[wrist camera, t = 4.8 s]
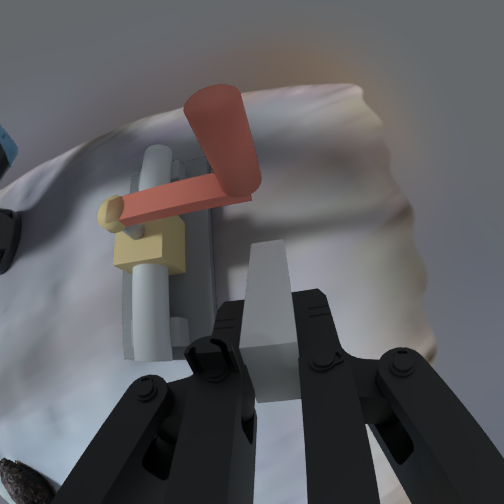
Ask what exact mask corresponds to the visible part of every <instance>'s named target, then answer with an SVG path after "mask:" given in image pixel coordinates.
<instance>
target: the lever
mask: <svg viewBox="0 0 504 504" xmlns="http://www.w3.org/2000/svg"><path fill="white" fill-rule="evenodd" d="M184 114H185V116H186V118H187V120H188V122H189V124H190V126H191V128H192V130H193V132H194V134H195V136H196V138H197V140H198V142H199V144H200V146H201V148H202V150H203V152H204V154H205V156H206V158H207V160H208V162H209V164H210V166H211V168H212V170H213V172H214V173H210V174H206V175H201V176H197V177H193V178H188V179H184V180H180V181H176V182H172V183H168V184H164V185H160V186H157V187H153V188H149V189H146V190H142V191H139V192H135V193H132V194H128V195H125V196H122V197H121V196H119V195H114V196H111V197H109V198H108V199H106V200H105V201H104V202H103V204H102V205H101V207H100V208H99V211H98V215H97V220H98V223H99V224H100V226H102V227H103V228H105V229H106V230H108V231H109V232H111V233H118V232H121V231H122V230H124V229H125V228H126V227H127V226H131V225H136V224H140V223H144V222H148V221H153V220H157V219H162V218H166V217H171V216H176V215H180V214H185V213H190V212H195V211H200V210H205V209H210V208H215V207H220V206H225V205H231V204H236V203H242V202H247V201H252V198H251V194H252V193H253V192H255V191H256V190H257V189H258V187H259V186H260V184H261V179H262V177H261V172H260V168H259V164H258V160H257V156H256V152H255V148H254V144H253V140H252V136H251V132H250V128H249V124H248V120H247V116H246V112H245V109H244V105H243V101H242V97H241V94H240V92H239V90H238V89H237V88H236V87H234V86H231V85H225V84H219V85H213V86H209V87H206V88H203V89H201V90H199V91H198V92H196V93H195V94H193V95H192V96H191V97H190V98H189V99H188V100H187V102H186V103H185V105H184Z"/></svg>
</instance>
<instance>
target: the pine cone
mask: <svg viewBox="0 0 504 504" xmlns="http://www.w3.org/2000/svg"><path fill="white" fill-rule="evenodd" d="M16 462H17V463H16ZM0 476H1V481H2V483H3V485H4V487H5V488H6V490H7V491H8V493H9V495H10V496H11V498H12V500H13V501H14V502H15V503H16V504H50V503H51V502H52V500H53V498H54V497H55V495H56V493H55V490H54V489H53V487H52V486H51V485H50V484H49V483H48V481H47V480H46V479H45V478H44V477H42V476H41V475H40V474H39V473H37V472H36V471H34V470H33V469H31V468H30V467H28V466H26V465H25V464H23V463H21V462H19V461H18V460H17V461H16V460H15V463H14V462H13V461H11V460H7V459H6V458H3V459H2V460H1V461H0Z"/></svg>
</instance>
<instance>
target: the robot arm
mask: <svg viewBox="0 0 504 504" xmlns="http://www.w3.org/2000/svg"><path fill="white" fill-rule="evenodd" d="M17 155H18V147H17V145H16V144H15V142H14V141H13V140H12V139H11V137H10V136H9V135H8V133H7V132H6V131H5V130H4V128H3V127H2V126H1V125H0V181H1V180H2V178H3V177H4V175H5V174H6V172H7V171H8V169H9V168H10V167H11V164H12V163H13V161H14V160H15V158H16V156H17ZM20 232H21V218H20V216H19V214H17V213H16V212H14V211H13V210H10V209H3V208H0V274H2V273H4V272H5V270H6V269H7V268H8V266H9V265H10V263H11V261H12V259H13V257H14V254H15V252H16V249H17V245H18V242H19V238H20ZM183 354H184V356H185V358H186V360H187V362H188V364H189V366H190V368H191V369H192V371H193V375H191V376H190V377H187V378H184V379H181V380H177V381H173V382H169V383H166V382H165V380H164V379H163V378H162V377H160V376H158V375H146V376H142V377H140V378H138V379H137V380H135V381H134V382H133V383H132V384H131V385H130V386H129V388H128V389H127V391H126V392H125V393H124V395H123V396H122V398H121V399H120V400H119V402H118V403H117V405H116V406H115V408H114V409H113V410H112V412H111V413H110V415H109V416H108V418H107V419H106V421H105V422H104V423H103V425H102V426H101V428H100V429H99V431H98V432H97V434H96V435H95V437H94V438H93V440H92V441H91V442H90V444H89V445H88V447H87V448H86V450H85V451H84V453H83V454H82V456H81V457H80V459H79V460H78V462H77V463H76V465H75V466H74V468H73V469H72V471H71V472H70V474H69V475H68V477H67V478H66V480H65V481H64V483H63V485H62V486H61V488H60V489H59V491H58V492H57V494H56V495H55V497H54V498H53V500H52V502H51V503H50V504H253V497H254V477H255V456H256V433H257V415H256V411H255V408H254V406H255V398H256V401H257V403H263V402H275V401H285V400H294V399H301V401H302V413H303V426H304V441H305V456H306V474H307V497H308V504H380V499H379V493H378V487H377V481H376V475H375V469H374V464H373V459H372V454H371V449H370V444H369V439H368V435H367V430H366V426H365V424H368V426H369V427H370V429H371V431H372V433H373V435H374V436H375V438H376V440H377V442H378V443H379V445H380V447H381V449H382V451H383V452H384V454H385V456H386V458H387V460H388V461H389V463H390V465H391V467H392V469H393V470H394V472H395V474H396V476H397V478H398V479H399V481H400V483H401V485H402V487H403V489H404V490H405V492H406V494H407V496H408V498H409V500H410V502H411V503H412V504H504V458H503V457H502V455H501V454H500V453H499V451H498V450H497V448H496V447H495V446H494V444H493V443H492V441H491V440H490V439H489V437H488V436H487V435H486V433H485V432H484V431H483V429H482V428H481V427H480V425H479V424H478V423H477V422H476V420H475V419H474V418H473V416H472V415H471V414H470V413H469V412H468V410H467V409H466V407H465V406H464V405H463V404H462V403H461V401H460V400H459V399H458V398H457V396H456V395H455V394H454V393H453V391H452V390H451V389H450V388H449V387H448V385H447V384H446V383H445V382H444V381H443V380H442V379H441V377H440V376H439V375H438V374H437V373H436V371H435V370H434V369H433V368H432V367H431V366H430V364H429V363H428V362H427V361H426V360H425V359H424V358H423V356H422V355H420V354H419V353H418V352H417V351H415V350H413V349H410V348H402V347H398V348H394V349H391V350H389V351H387V352H386V353H384V354H383V355H382V357H381V358H380V360H374V359H361V358H356V357H354V356H351V355H350V354H348V353H347V352H345V350H344V349H343V348H342V347H341V344H340V342H339V338H338V335H337V331H336V328H335V324H334V321H333V317H332V315H331V311H330V308H329V304H328V301H327V298H326V295H325V294H323V293H322V292H321V291H320V290H319V289H311V290H305V291H298V292H291V287H290V279H289V272H288V265H287V258H286V251H285V245H284V239H279V240H273V241H266V242H260V243H253V244H251V251H250V260H249V268H248V277H247V285H246V294H245V300H237V301H228V302H224V303H223V305H222V306H221V307H220V308H219V309H218V311H217V314H216V318H215V323H214V327H213V331H212V335H210V336H205V337H201V338H199V339H197V340H195V341H193V342H192V343H191V344H190V345H189V346H188V347H187V348H186V350H185V352H184V353H183Z"/></svg>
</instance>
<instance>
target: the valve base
mask: <svg viewBox="0 0 504 504" xmlns="http://www.w3.org/2000/svg"><path fill="white" fill-rule="evenodd" d="M172 157H173V152H172V150H171V149H170V148H169V147H167V146H165V145H161V144H156V145H151V146H149V147H148V148H146V150H145V152H144V157H143V164H142V170H140V173H139V175H136V176H133V177H132V182H131V188H130V194H132V193H135V192H139V191H142V190H146V189H149V188H153V187H157V186H160V185H164V184H168V183H172V182H176V181H180V180H184V179H188V178H193V177H197V176H201V175H206V174H210V164H209V162H208V160H207V158H206V157H202V158H198V159H194V160H190V161H186V162H182V163H181V161H180V159H177V160H173V161H172ZM113 265H114V266H116V267H118V268H120V269H122V270H123V287H122V320H123V346H124V359H129V360H135V361H173V360H186V358H185V356H184V354H183V353H184V352H185V350H186V348H187V347H188V346H189V345H190V344H191V343H192V342H193V341H195V340H197V339H199V338H201V337H205V336H210V335H212V331H213V327H214V323H215V318H216V314H217V302H216V289H215V275H214V259H213V241H212V221H211V208H210V209H205V210H200V211H195V212H190V213H185V214H180V215H176V216H171V217H166V218H162V219H157V220H153V221H148V222H144V223H140V224H136V225H131V226H127V227H126V228H125V229H124V230H122V231H121V232H118V233H116V236H115V247H114V260H113Z"/></svg>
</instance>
